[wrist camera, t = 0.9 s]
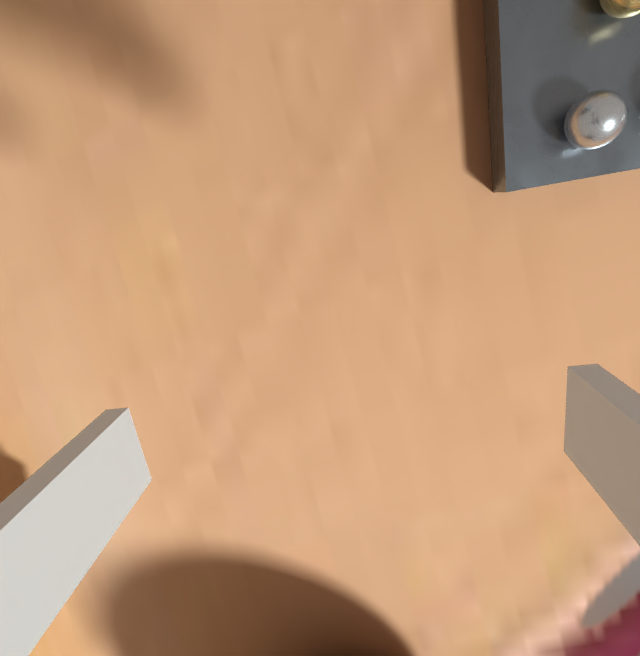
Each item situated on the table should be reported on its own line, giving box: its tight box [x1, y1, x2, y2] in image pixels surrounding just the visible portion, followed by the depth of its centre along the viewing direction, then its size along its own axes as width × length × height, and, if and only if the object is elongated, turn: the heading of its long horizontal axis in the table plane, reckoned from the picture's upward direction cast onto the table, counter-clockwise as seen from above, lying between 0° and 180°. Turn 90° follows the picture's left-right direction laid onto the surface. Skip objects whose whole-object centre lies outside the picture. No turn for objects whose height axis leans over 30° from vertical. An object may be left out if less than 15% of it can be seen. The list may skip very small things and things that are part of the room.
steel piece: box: [564, 89, 628, 149], centre depth 26 cm, size 3×3×3 cm
